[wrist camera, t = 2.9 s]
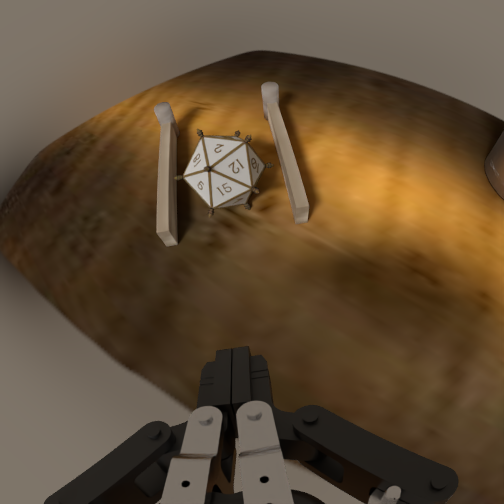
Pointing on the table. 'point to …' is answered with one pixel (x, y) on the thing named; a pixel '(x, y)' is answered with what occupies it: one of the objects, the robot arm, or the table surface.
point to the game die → (224, 171)
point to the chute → (169, 163)
